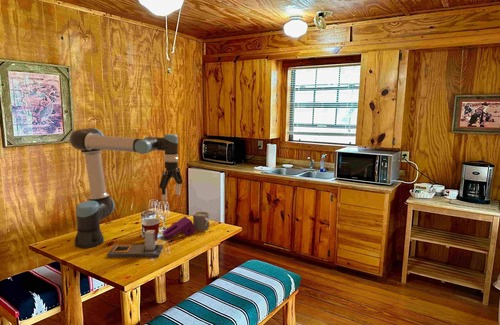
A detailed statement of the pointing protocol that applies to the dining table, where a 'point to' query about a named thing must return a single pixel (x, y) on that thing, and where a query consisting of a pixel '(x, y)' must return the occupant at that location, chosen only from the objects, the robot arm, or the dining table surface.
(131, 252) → the grey peg board
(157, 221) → the plastic cup
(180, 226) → the mounting bracket
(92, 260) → the dining table surface
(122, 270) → the dining table surface
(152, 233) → the peg
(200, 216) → the coffee mug
